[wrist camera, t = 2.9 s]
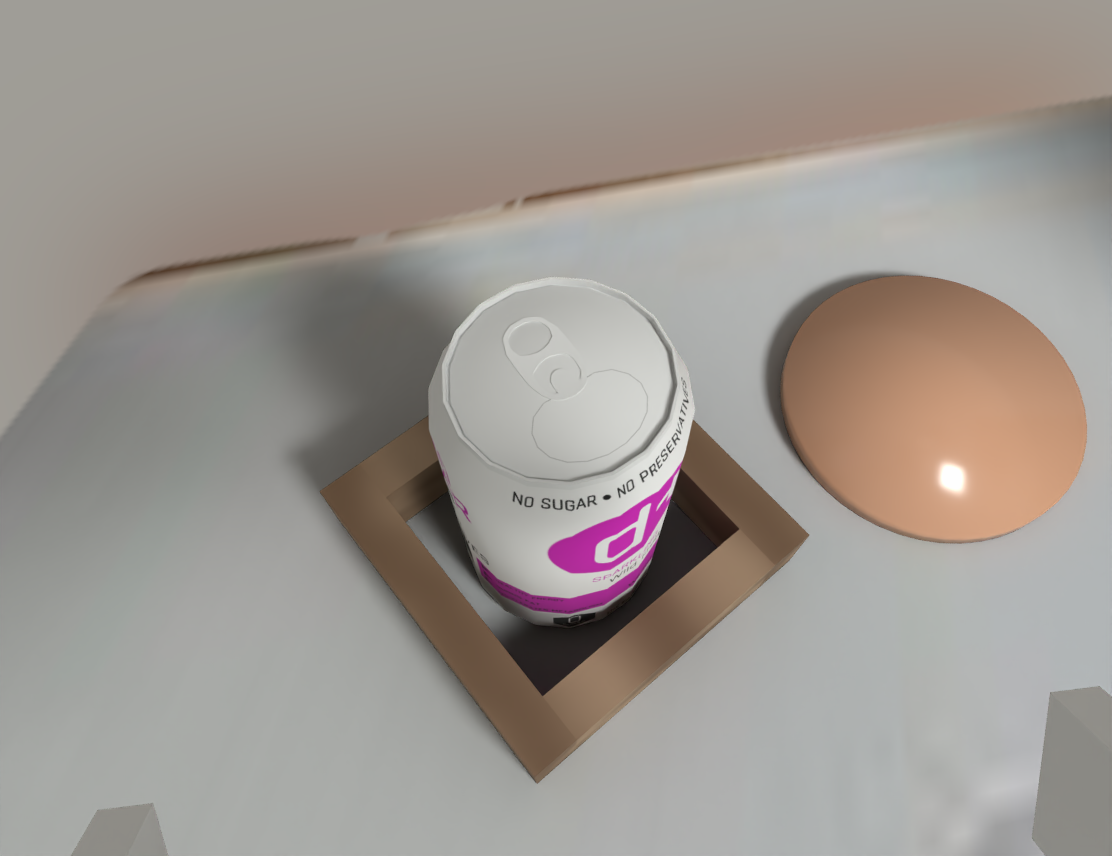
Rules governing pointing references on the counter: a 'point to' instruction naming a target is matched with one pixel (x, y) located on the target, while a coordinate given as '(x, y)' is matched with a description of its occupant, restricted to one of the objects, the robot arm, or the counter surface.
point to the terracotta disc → (932, 409)
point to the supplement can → (560, 444)
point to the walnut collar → (623, 661)
